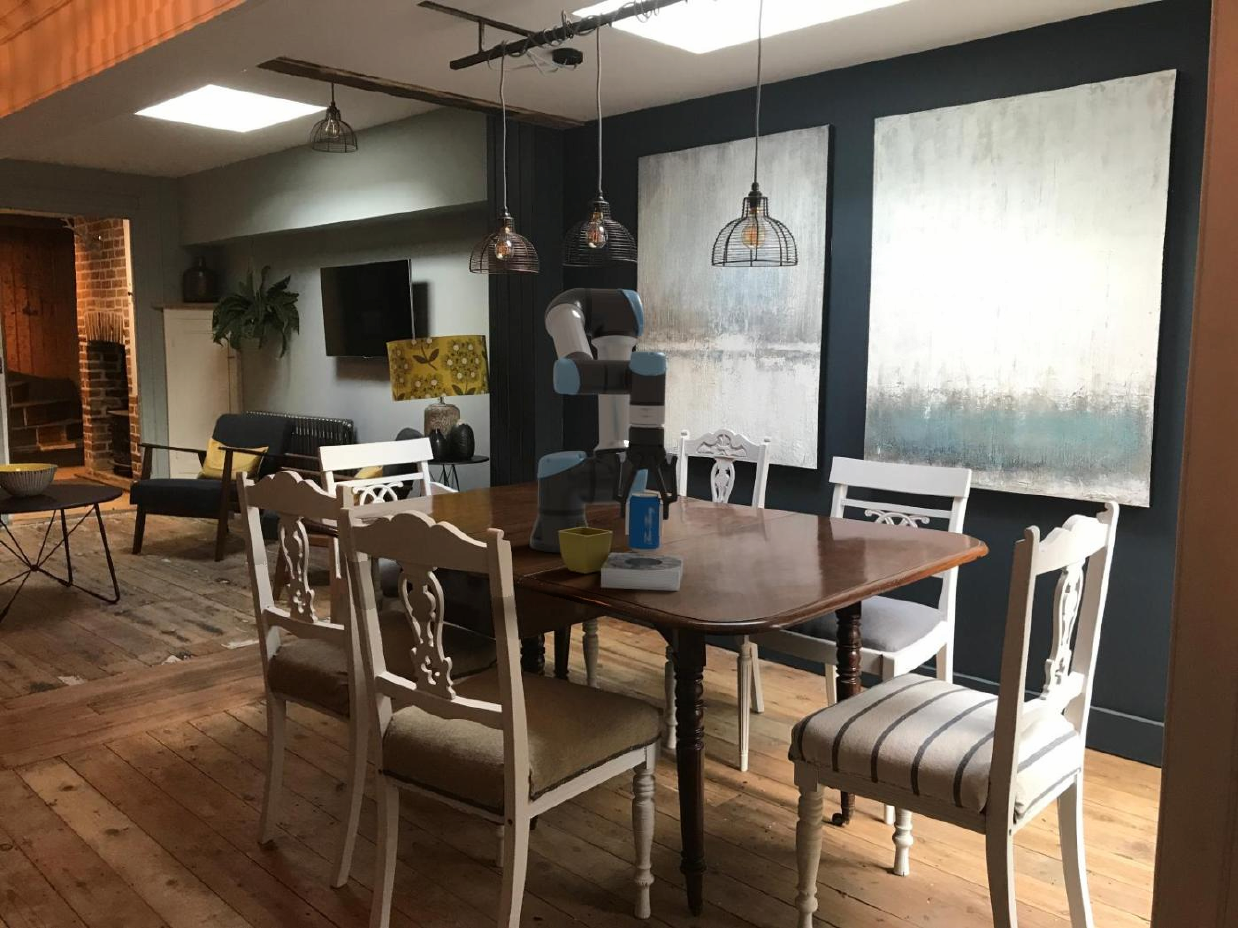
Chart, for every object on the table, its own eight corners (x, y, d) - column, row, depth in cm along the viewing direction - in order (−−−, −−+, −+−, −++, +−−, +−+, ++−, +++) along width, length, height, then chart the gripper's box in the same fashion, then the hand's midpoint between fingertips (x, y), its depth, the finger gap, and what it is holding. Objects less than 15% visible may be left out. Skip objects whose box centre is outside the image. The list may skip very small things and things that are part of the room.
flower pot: (583, 564, 226) (583, 525, 225) (612, 570, 221) (613, 530, 220) (556, 571, 220) (557, 530, 219) (586, 577, 214) (587, 536, 213)
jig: (600, 587, 206) (601, 568, 205) (610, 570, 221) (610, 552, 221) (678, 590, 204) (679, 571, 203) (682, 573, 220) (682, 555, 219)
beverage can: (633, 553, 208) (634, 496, 206) (625, 547, 214) (626, 492, 213) (663, 552, 209) (664, 496, 208) (654, 546, 216) (655, 491, 214)
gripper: (598, 425, 206) (596, 535, 209) (692, 428, 204) (689, 539, 207) (603, 423, 213) (601, 529, 216) (693, 425, 211) (690, 532, 214)
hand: (644, 534), depth 211 cm, fingers closed on beverage can, 6 cm apart
